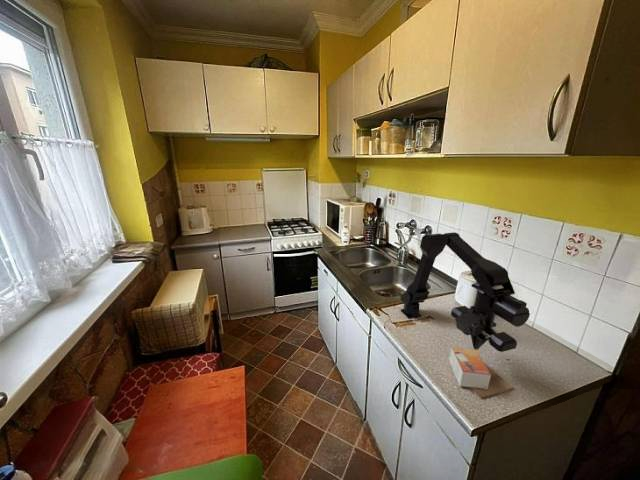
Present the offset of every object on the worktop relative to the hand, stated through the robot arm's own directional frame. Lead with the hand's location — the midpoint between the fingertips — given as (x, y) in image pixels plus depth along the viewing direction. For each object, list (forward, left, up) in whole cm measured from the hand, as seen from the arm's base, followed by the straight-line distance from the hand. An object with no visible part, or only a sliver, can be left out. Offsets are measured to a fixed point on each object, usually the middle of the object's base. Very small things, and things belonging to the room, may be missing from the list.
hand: (475, 348), depth 82 cm
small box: (-3, -1, -5) cm, 6 cm away
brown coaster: (+4, 0, -8) cm, 9 cm away
